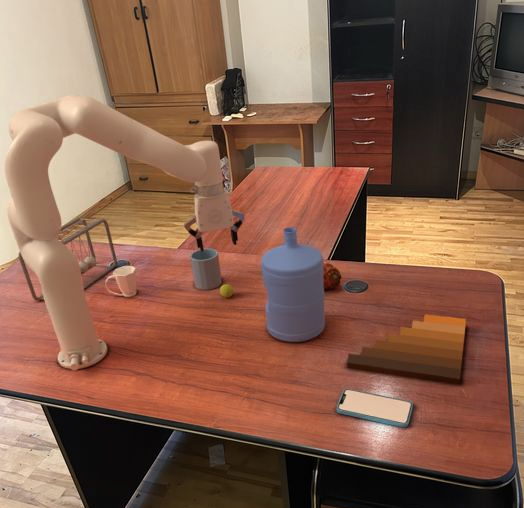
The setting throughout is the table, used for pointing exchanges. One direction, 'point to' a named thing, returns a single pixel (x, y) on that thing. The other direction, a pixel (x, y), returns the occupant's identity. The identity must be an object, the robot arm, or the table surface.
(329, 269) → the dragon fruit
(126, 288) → the cup
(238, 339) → the table surface
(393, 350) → the pan flute
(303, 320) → the water jug
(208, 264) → the tumbler
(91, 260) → the newton's cradle
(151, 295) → the table surface
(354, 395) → the smartphone
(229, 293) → the plum
